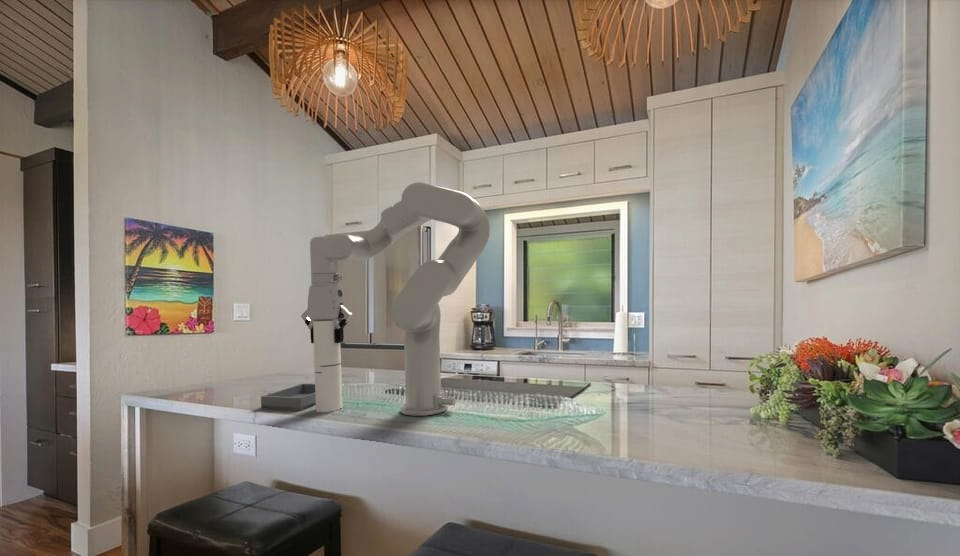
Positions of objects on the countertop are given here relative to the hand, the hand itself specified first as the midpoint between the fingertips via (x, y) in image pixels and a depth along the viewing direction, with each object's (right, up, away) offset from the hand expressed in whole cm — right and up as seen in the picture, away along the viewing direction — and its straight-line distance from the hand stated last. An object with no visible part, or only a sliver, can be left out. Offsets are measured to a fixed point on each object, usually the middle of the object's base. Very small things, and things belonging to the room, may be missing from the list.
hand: (327, 342), depth 130 cm
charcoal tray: (-11, -19, +9) cm, 24 cm away
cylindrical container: (+1, -19, 0) cm, 19 cm away
